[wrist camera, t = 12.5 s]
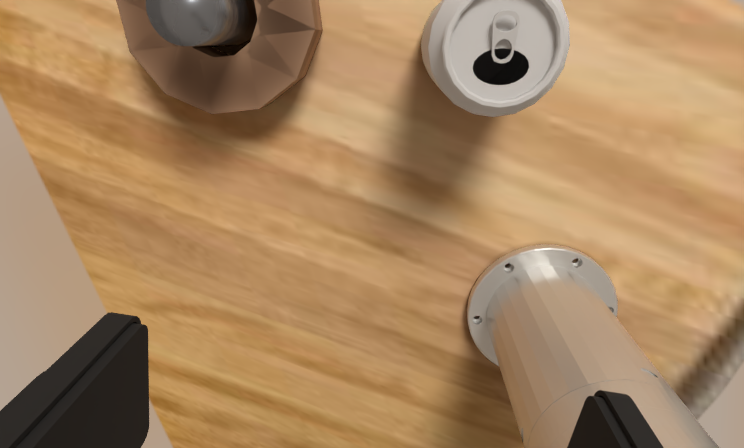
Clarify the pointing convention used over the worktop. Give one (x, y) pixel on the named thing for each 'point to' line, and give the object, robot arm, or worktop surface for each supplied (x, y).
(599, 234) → the worktop surface
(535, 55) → the can
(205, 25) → the peg
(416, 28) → the worktop surface
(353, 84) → the worktop surface
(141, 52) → the bead
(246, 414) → the worktop surface
